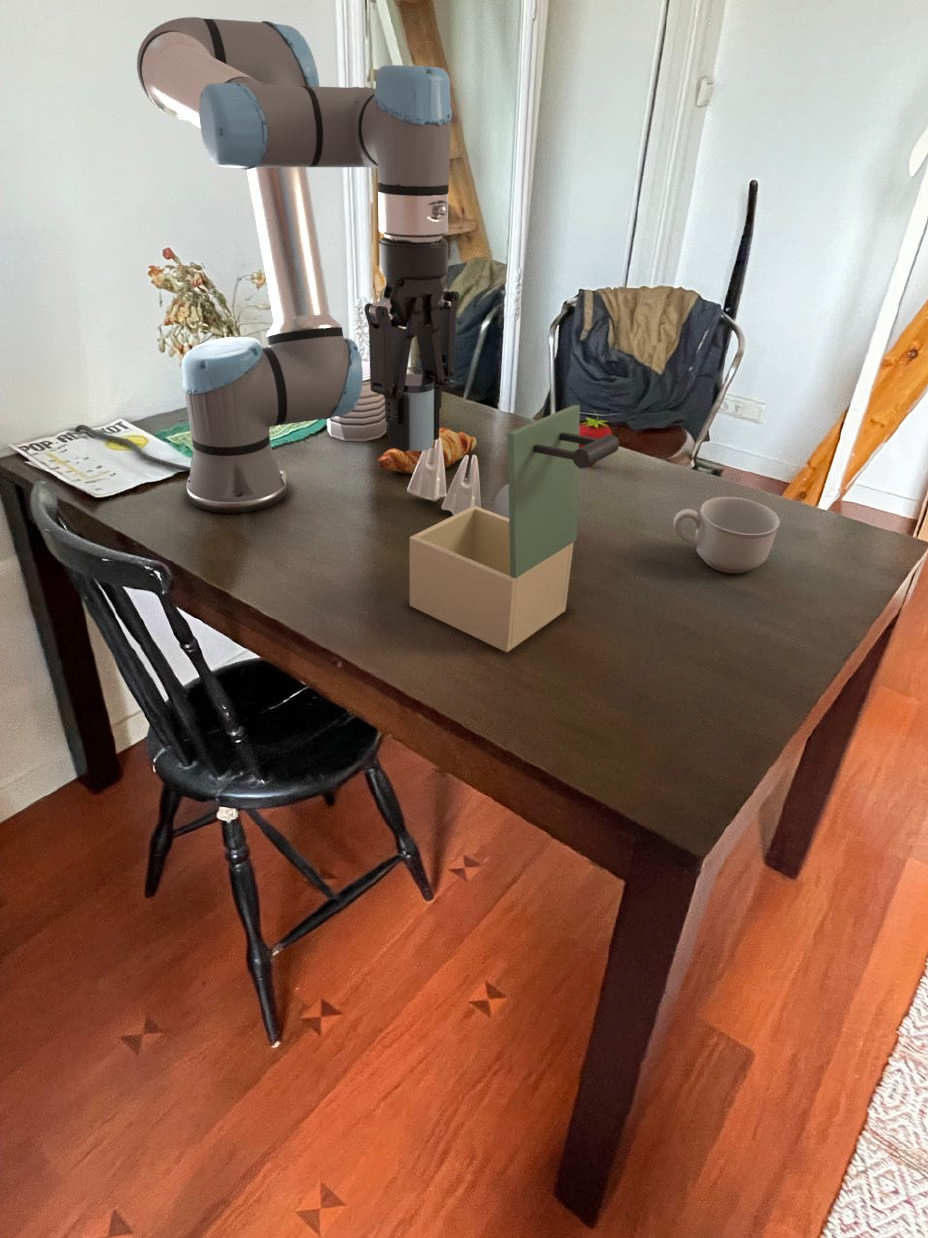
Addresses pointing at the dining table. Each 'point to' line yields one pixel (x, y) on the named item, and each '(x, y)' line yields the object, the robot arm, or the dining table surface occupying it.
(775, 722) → the dining table surface
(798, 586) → the dining table surface
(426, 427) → the coffee tin
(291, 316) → the robot arm
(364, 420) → the can
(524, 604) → the tan storage tray
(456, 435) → the croissant
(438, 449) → the shaker set
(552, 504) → the lid
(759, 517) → the teacup
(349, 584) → the dining table surface
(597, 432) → the strawberry
